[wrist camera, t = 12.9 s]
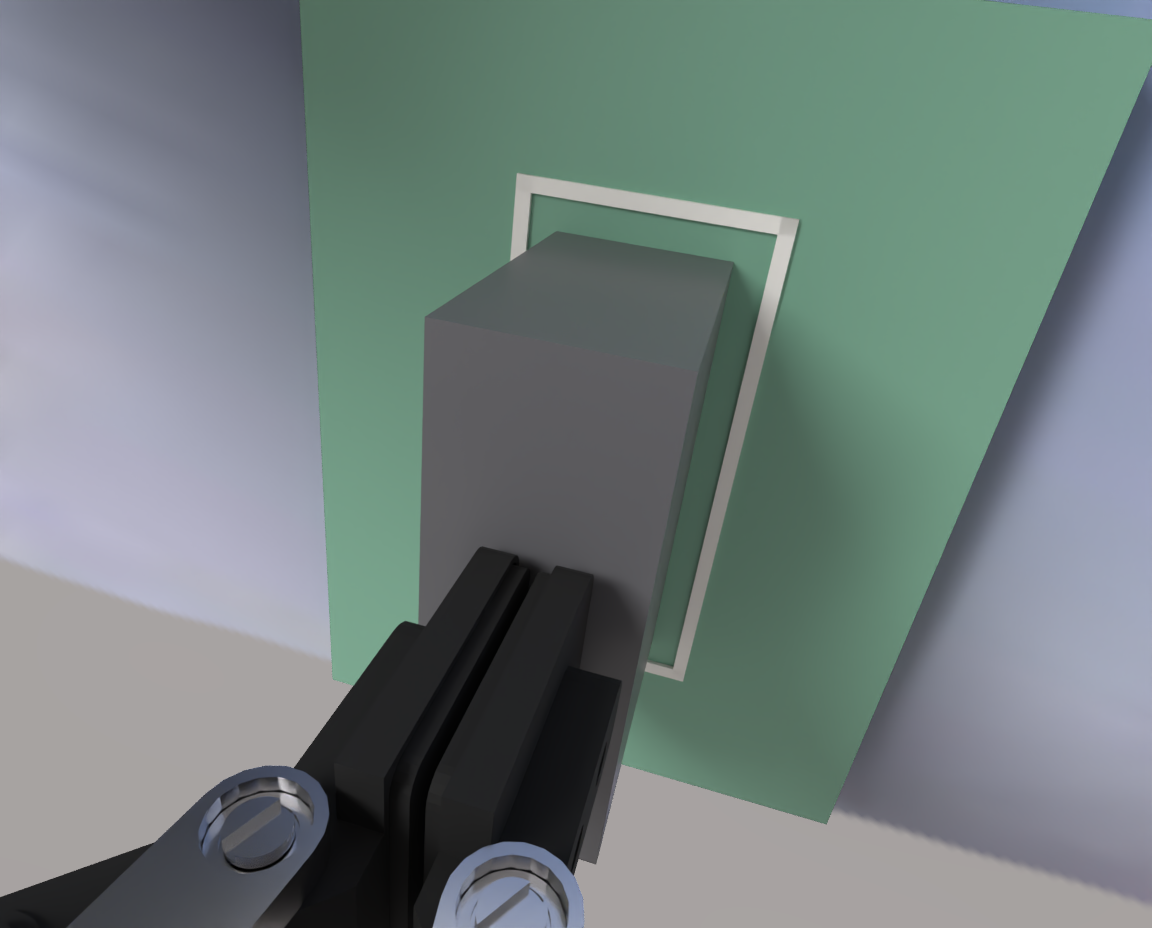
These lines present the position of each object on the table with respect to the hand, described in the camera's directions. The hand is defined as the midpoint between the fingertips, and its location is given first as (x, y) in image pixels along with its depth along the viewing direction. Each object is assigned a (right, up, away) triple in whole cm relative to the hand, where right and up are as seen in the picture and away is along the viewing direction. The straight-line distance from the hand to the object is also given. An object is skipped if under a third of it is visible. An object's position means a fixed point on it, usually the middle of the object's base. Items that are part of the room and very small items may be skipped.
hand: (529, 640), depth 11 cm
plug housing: (+1, +3, +5) cm, 6 cm away
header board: (+2, +3, +7) cm, 8 cm away
